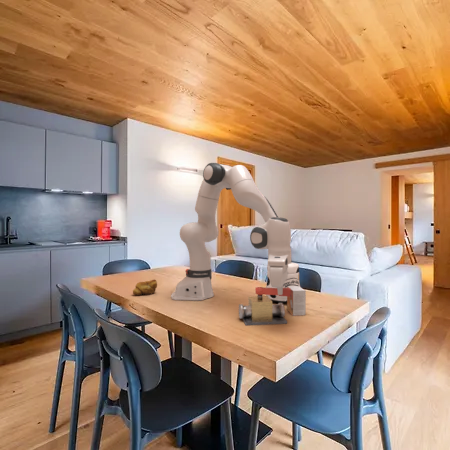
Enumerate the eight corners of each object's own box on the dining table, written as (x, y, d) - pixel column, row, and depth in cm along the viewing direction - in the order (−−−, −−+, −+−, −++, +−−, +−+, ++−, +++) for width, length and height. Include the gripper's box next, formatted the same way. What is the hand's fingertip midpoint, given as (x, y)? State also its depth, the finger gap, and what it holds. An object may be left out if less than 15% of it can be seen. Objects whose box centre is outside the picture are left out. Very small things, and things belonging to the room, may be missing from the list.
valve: (242, 325, 105) (241, 299, 105) (237, 314, 117) (237, 291, 117) (287, 323, 107) (287, 297, 106) (278, 313, 118) (278, 290, 118)
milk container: (294, 307, 127) (294, 267, 126) (259, 302, 136) (259, 265, 135) (305, 298, 141) (305, 263, 141) (273, 294, 150) (272, 260, 150)
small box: (286, 309, 123) (286, 286, 123) (299, 309, 124) (299, 285, 124) (292, 315, 115) (292, 290, 115) (305, 315, 116) (305, 290, 116)
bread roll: (134, 297, 146) (134, 282, 145) (130, 293, 154) (130, 279, 154) (158, 294, 152) (158, 279, 152) (153, 290, 161) (153, 276, 160)
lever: (254, 294, 111) (254, 288, 111) (256, 292, 114) (256, 286, 114) (290, 296, 108) (290, 290, 108) (290, 294, 111) (290, 287, 111)
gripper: (275, 255, 119) (276, 288, 119) (266, 261, 100) (267, 300, 100) (290, 256, 117) (291, 289, 117) (284, 262, 98) (285, 301, 98)
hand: (280, 294), depth 108 cm, fingers closed
